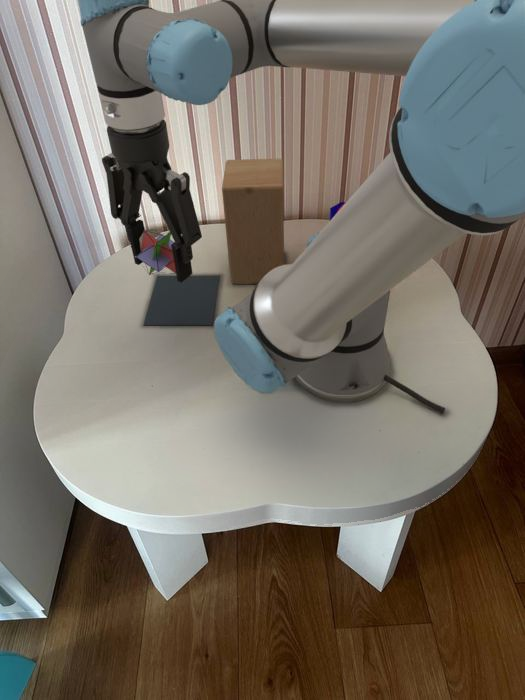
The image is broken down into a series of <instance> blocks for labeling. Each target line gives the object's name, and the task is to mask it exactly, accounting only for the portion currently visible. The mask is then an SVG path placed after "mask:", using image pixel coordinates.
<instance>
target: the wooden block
mask: <svg viewBox="0 0 525 700" xmlns="http://www.w3.org/2000/svg"><path fill="white" fill-rule="evenodd" d="M224 164H225V165H224V171H223V179H222V187H221V194H222V203H223V204H222V205H223V214H224V223H225V224H224V226H225V235H226V246H227V257H228V268H229V278H230V283H231V285H257V284H258V283H259V282H260V280H261V279H262V278H263V277H264V276H265V275H266V274H267V273H268V272H270V271H271V270H272V269H274V268H276V267H279V266H282V265H285V219H284V217H285V215H284V213H285V212H284V209H285V208H284V207H285V206H284V204H285V203H284V201H285V200H284V160H283V158H253V159H252V158H249V159H247V158H246V159H226V161H225V163H224Z"/></svg>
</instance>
